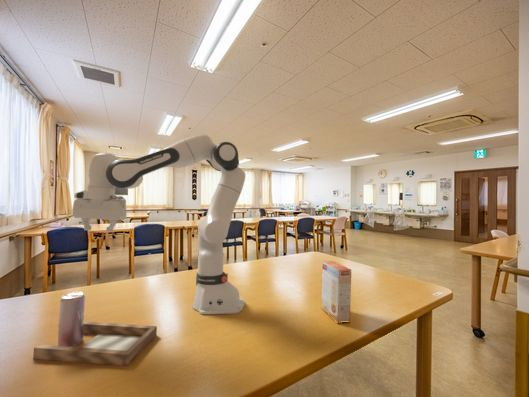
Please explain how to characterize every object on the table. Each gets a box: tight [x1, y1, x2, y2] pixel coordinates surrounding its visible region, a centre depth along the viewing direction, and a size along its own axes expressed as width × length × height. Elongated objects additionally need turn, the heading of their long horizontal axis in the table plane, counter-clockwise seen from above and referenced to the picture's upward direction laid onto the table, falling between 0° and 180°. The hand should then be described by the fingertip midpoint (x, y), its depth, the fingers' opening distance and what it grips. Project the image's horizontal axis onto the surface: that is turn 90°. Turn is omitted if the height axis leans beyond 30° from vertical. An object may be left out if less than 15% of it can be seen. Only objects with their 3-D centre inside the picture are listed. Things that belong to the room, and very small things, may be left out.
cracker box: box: [321, 260, 352, 322], centre depth 98 cm, size 14×6×21 cm, turn 12°
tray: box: [32, 321, 158, 367], centre depth 72 cm, size 28×15×3 cm, turn 86°
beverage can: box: [57, 291, 86, 347], centre depth 73 cm, size 6×6×15 cm
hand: (98, 231), depth 90 cm, fingers open, 8 cm apart
